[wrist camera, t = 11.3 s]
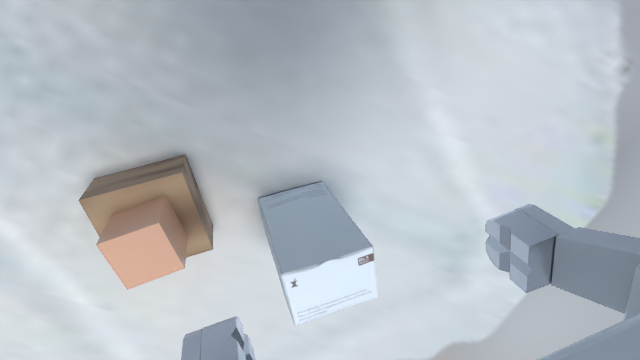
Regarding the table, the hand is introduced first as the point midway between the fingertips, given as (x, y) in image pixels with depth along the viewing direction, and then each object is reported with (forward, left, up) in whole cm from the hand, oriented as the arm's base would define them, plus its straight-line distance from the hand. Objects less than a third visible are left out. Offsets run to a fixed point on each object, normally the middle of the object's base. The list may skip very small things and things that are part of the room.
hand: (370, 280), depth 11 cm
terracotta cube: (+8, -14, -24) cm, 29 cm away
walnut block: (+8, -14, -29) cm, 33 cm away
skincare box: (+14, 0, -29) cm, 32 cm away
